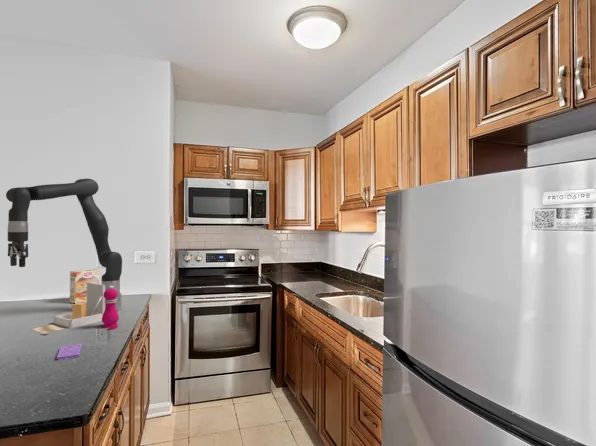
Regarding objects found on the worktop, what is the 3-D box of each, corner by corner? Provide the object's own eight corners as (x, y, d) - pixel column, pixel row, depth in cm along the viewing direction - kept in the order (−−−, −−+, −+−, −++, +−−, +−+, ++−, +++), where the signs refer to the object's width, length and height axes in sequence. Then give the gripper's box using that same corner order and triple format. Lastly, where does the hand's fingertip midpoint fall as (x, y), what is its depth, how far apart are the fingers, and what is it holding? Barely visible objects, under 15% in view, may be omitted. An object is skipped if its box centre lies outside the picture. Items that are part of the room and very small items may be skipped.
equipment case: (89, 318, 190) (89, 282, 190) (104, 322, 183) (105, 285, 183) (54, 325, 176) (54, 287, 176) (70, 330, 169) (70, 290, 169)
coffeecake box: (75, 304, 222) (75, 272, 222) (69, 302, 226) (69, 271, 226) (99, 299, 235) (99, 269, 235) (93, 298, 239) (94, 268, 239)
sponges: (81, 348, 146) (81, 343, 146) (79, 358, 135) (79, 353, 135) (60, 350, 143) (60, 346, 143) (56, 361, 132) (56, 356, 132)
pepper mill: (111, 330, 169) (112, 287, 169) (98, 329, 170) (98, 286, 170) (122, 326, 176) (122, 284, 176) (109, 325, 177) (109, 284, 177)
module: (77, 320, 181) (77, 302, 181) (86, 320, 181) (86, 302, 181) (72, 323, 177) (72, 304, 177) (81, 323, 177) (81, 304, 177)
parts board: (52, 326, 174) (52, 324, 174) (65, 330, 168) (65, 328, 168) (30, 331, 166) (30, 329, 166) (43, 335, 160) (43, 333, 160)
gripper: (34, 231, 167) (34, 266, 167) (20, 230, 175) (20, 264, 175) (15, 231, 161) (15, 268, 161) (1, 230, 168) (1, 266, 168)
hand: (17, 266), depth 168 cm, fingers open, 8 cm apart
